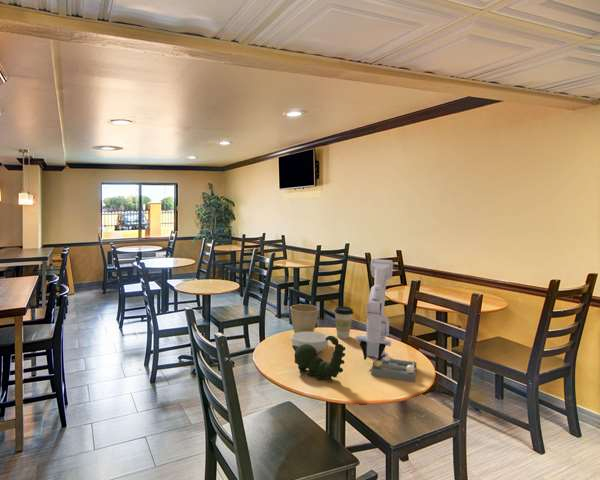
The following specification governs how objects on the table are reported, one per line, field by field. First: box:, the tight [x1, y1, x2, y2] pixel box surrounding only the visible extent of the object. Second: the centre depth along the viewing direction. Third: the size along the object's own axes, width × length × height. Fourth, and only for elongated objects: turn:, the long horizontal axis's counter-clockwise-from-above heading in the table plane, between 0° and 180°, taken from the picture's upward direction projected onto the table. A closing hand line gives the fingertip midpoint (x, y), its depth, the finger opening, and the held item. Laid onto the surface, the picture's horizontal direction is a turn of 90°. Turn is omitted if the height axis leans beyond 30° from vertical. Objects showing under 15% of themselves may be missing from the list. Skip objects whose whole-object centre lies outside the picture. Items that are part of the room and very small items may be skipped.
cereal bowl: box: [291, 331, 329, 353], centre depth 184 cm, size 17×17×7 cm
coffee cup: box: [333, 306, 354, 340], centre depth 206 cm, size 10×10×15 cm
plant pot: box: [289, 303, 320, 334], centre depth 201 cm, size 15×15×16 cm
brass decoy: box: [374, 360, 382, 368], centre depth 160 cm, size 3×3×3 cm
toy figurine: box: [291, 335, 346, 382], centre depth 157 cm, size 9×19×25 cm
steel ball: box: [381, 353, 391, 364], centre depth 165 cm, size 4×4×4 cm
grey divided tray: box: [370, 356, 417, 383], centre depth 163 cm, size 17×14×4 cm
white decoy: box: [406, 365, 414, 373], centre depth 156 cm, size 3×3×3 cm
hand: (372, 360), depth 167 cm, fingers open, 5 cm apart
